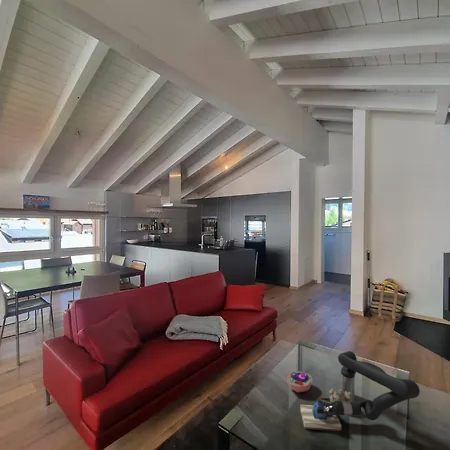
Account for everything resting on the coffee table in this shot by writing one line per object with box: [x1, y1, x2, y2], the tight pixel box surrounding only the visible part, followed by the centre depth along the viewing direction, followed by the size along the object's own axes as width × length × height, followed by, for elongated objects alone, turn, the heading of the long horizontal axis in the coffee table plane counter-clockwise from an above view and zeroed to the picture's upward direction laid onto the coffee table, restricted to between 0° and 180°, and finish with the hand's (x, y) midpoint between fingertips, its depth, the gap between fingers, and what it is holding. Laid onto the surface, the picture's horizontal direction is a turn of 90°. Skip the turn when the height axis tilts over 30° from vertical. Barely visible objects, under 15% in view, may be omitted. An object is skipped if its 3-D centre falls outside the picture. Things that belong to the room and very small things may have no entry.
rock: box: [328, 387, 356, 402], centre depth 183 cm, size 16×16×15 cm
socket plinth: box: [299, 404, 342, 432], centre depth 171 cm, size 15×22×4 cm
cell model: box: [286, 370, 313, 393], centre depth 200 cm, size 17×20×11 cm
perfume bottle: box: [312, 397, 326, 420], centre depth 170 cm, size 6×6×12 cm
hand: (316, 406), depth 170 cm, fingers closed on perfume bottle, 7 cm apart
